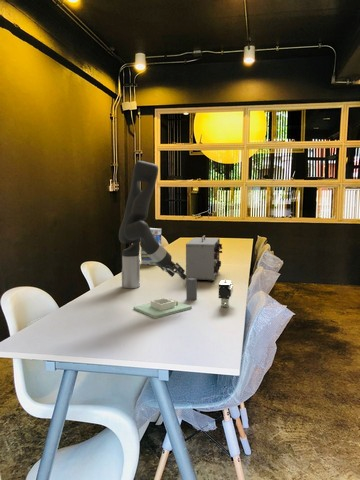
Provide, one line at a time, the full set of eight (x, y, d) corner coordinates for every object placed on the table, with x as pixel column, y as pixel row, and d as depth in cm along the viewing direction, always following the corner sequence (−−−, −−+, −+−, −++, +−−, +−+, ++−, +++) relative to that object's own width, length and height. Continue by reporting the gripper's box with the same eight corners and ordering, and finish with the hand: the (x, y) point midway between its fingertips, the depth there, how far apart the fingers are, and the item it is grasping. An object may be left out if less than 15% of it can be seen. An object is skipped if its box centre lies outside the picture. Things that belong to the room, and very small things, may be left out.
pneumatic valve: (217, 309, 162) (218, 282, 160) (221, 302, 173) (221, 276, 171) (230, 310, 160) (231, 283, 159) (233, 302, 172) (233, 277, 170)
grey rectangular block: (191, 300, 175) (191, 280, 174) (186, 299, 178) (186, 278, 177) (196, 299, 178) (196, 278, 176) (191, 297, 180) (191, 277, 179)
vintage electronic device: (217, 283, 209) (217, 239, 206) (185, 281, 213) (185, 238, 210) (222, 271, 240) (222, 233, 237) (194, 270, 244) (194, 233, 241)
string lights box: (140, 264, 266) (140, 228, 262) (145, 262, 273) (144, 227, 270) (158, 265, 262) (157, 229, 258) (161, 263, 269) (161, 228, 266)
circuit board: (155, 318, 150) (155, 310, 150) (133, 309, 162) (133, 301, 162) (191, 308, 163) (191, 300, 163) (168, 300, 175) (168, 293, 175)
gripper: (173, 250, 158) (193, 272, 167) (154, 246, 169) (173, 268, 178) (164, 264, 156) (184, 286, 164) (144, 259, 166) (165, 280, 175)
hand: (179, 276), depth 171 cm, fingers open, 8 cm apart
